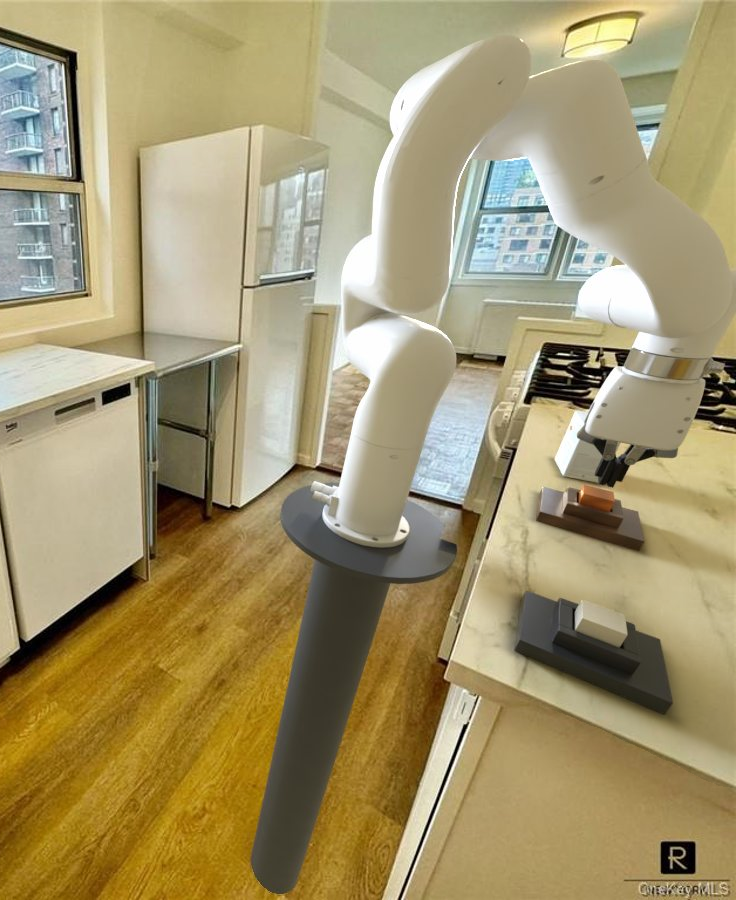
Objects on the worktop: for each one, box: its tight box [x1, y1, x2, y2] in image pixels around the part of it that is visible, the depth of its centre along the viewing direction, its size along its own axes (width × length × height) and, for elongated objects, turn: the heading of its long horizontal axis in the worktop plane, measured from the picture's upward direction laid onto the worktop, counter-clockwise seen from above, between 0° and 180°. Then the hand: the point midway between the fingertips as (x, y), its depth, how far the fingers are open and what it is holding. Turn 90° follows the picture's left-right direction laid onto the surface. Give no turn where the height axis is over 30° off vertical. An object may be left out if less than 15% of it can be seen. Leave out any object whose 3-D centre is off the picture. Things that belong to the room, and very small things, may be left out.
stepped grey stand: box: [514, 590, 674, 715], centre depth 53 cm, size 12×10×4 cm
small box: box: [554, 410, 622, 484], centre depth 88 cm, size 8×6×10 cm
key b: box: [578, 484, 616, 512], centre depth 74 cm, size 4×4×2 cm
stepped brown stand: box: [535, 486, 646, 552], centre depth 75 cm, size 12×10×4 cm
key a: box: [574, 599, 628, 648], centre depth 52 cm, size 4×4×2 cm
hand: (605, 482), depth 73 cm, fingers closed
